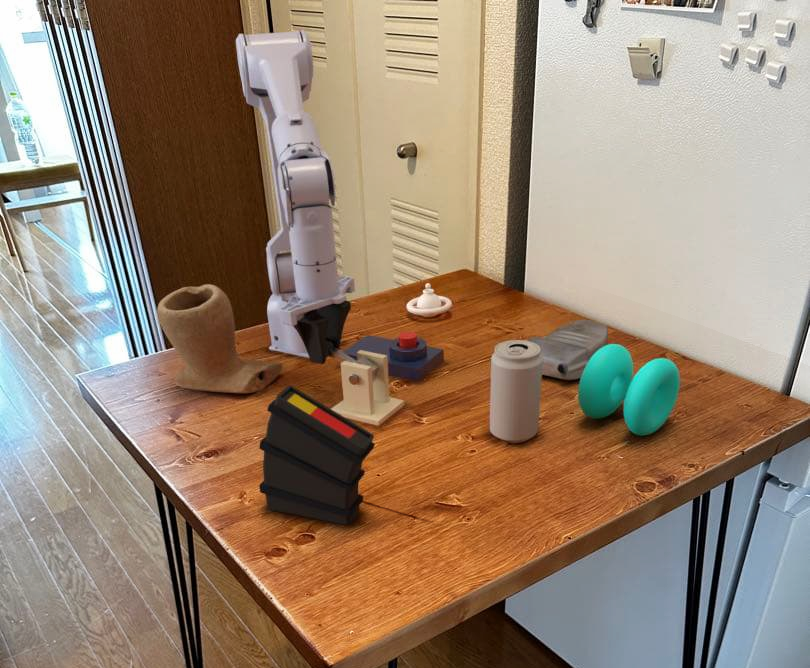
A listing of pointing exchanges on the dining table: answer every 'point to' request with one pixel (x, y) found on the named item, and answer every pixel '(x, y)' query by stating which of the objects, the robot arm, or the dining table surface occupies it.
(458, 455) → the dining table surface
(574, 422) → the dining table surface
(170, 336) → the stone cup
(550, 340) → the handheld device
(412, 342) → the red push button
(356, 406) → the switch box
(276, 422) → the magazine
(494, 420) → the beverage can
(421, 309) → the ring around a ball
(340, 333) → the robot arm
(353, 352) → the push button base
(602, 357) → the turquoise spool
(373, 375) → the toggle
